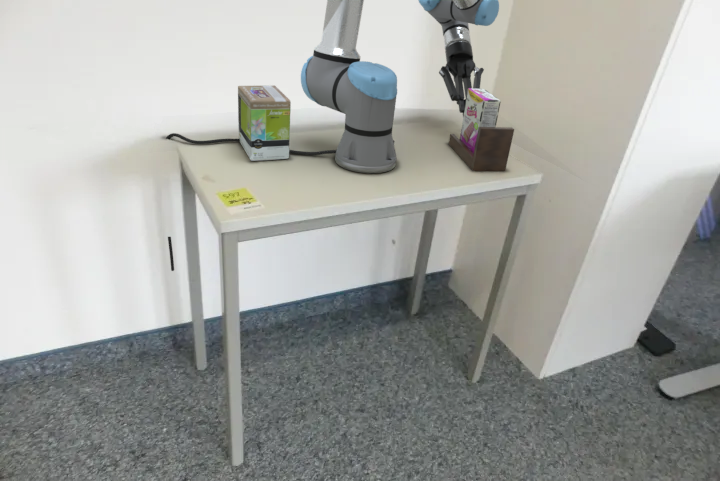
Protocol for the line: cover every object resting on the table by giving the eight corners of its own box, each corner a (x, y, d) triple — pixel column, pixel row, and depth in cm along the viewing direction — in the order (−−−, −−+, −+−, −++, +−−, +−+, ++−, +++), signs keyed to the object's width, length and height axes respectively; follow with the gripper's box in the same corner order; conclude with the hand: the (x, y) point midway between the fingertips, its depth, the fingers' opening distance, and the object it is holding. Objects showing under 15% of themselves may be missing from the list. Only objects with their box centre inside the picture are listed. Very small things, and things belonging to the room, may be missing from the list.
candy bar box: (456, 146, 156) (467, 87, 148) (473, 146, 157) (484, 88, 149) (472, 161, 147) (483, 99, 139) (489, 161, 148) (502, 99, 140)
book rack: (472, 170, 141) (480, 128, 135) (448, 144, 157) (454, 105, 152) (505, 171, 143) (514, 129, 137) (477, 144, 159) (485, 106, 154)
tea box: (290, 159, 138) (291, 100, 131) (250, 162, 134) (249, 101, 127) (275, 138, 150) (275, 83, 143) (237, 141, 146) (236, 84, 139)
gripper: (440, 38, 155) (450, 115, 149) (484, 41, 158) (496, 116, 152) (432, 54, 163) (441, 128, 157) (474, 56, 165) (485, 129, 159)
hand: (468, 122), depth 154 cm, fingers closed
